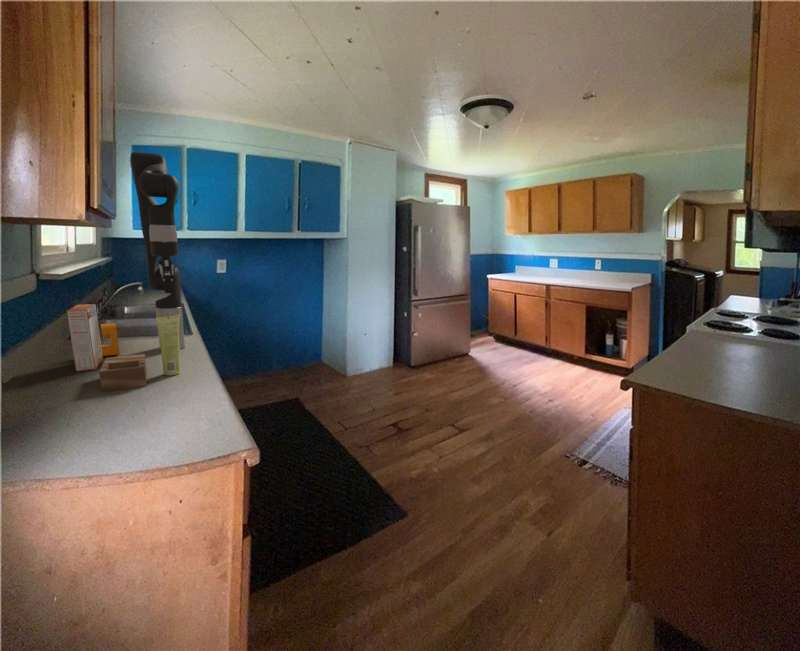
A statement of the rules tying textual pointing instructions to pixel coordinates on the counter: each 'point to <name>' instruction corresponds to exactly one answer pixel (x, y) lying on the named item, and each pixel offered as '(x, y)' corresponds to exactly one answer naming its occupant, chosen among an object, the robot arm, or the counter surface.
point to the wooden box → (123, 372)
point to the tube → (169, 343)
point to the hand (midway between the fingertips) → (168, 291)
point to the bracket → (111, 333)
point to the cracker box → (85, 336)
